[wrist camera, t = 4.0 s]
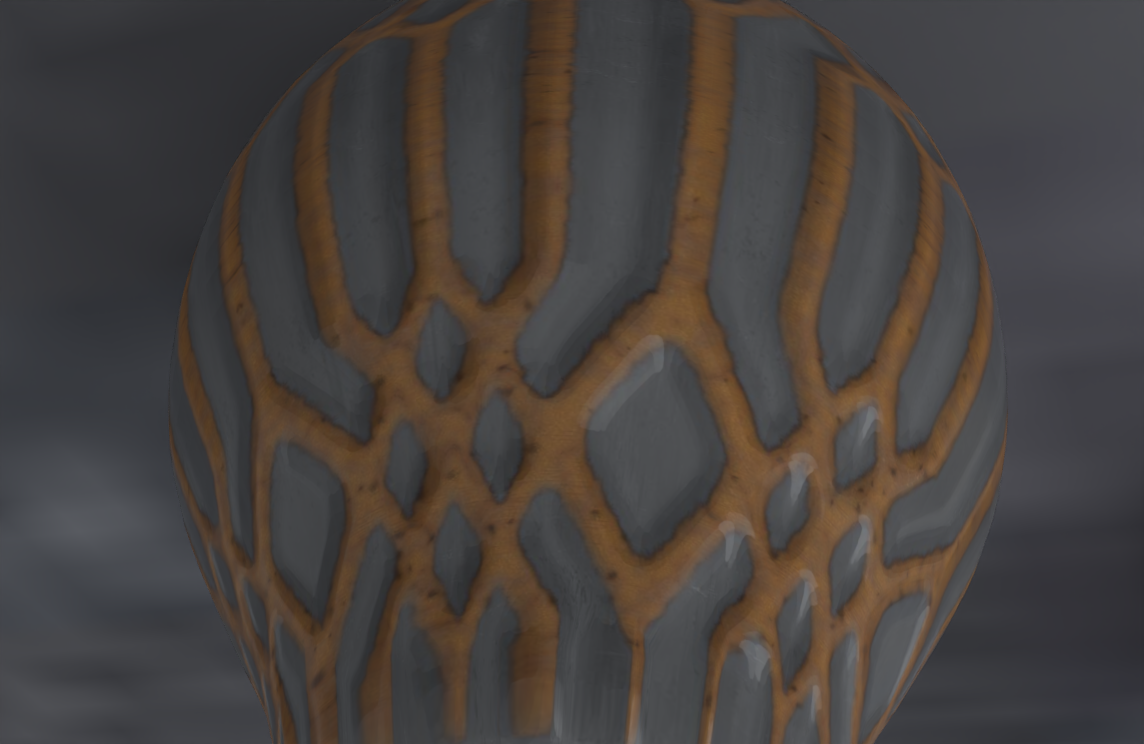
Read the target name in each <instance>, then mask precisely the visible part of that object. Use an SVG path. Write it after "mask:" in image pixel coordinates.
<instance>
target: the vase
mask: <svg viewBox="0 0 1144 744" xmlns="http://www.w3.org/2000/svg"><path fill="white" fill-rule="evenodd" d="M1007 417H1008V407H1007V376H1006V356H1005V349H1004V343H1003V336H1002V329H1001V323H1000V316H999V310H998V303H997V297H996V293H995V289H994V285H993V281H992V277H991V273H990V269H989V266H988V262H987V259H986V255H985V252H984V248H983V245H982V242H981V239H980V236H979V233H978V231H977V228H976V225H975V222H974V219H973V217H972V214H971V212H970V210H969V208H968V206H967V203H966V201H965V199H964V197H963V195H962V193H961V191H960V189H959V186H958V184H957V182H956V180H955V179H954V177H953V175H952V173H951V171H950V169H949V167H948V165H947V163H946V161H945V160H944V158H943V156H942V155H941V153H940V151H939V150H938V148H937V146H936V145H935V143H934V141H933V140H932V138H931V136H930V135H929V134H928V132H927V131H926V130H925V128H924V127H923V125H922V124H921V123H920V121H919V120H918V119H917V117H916V116H915V114H914V113H913V112H912V110H911V109H910V108H909V107H908V106H907V105H906V104H905V102H904V101H903V100H902V99H901V98H900V97H899V96H898V95H897V93H896V92H895V91H894V90H893V89H892V88H891V87H890V85H889V84H888V83H887V82H886V81H885V80H884V79H883V78H882V77H881V76H880V75H879V74H878V73H877V72H876V71H875V70H874V69H873V68H872V67H871V66H870V65H868V64H867V63H866V62H865V61H864V60H863V59H862V58H861V57H860V56H859V55H858V54H857V53H856V52H855V51H854V50H853V49H851V48H850V47H849V46H848V45H846V44H845V43H844V42H842V41H841V40H840V39H839V38H837V37H836V36H835V35H834V34H832V33H831V32H830V31H828V30H827V29H826V28H824V27H823V26H821V25H820V24H818V23H817V22H815V21H814V20H812V19H810V18H809V17H807V16H806V15H804V14H803V13H801V12H800V11H798V10H797V9H795V8H793V7H791V6H790V5H788V4H786V3H784V2H782V1H780V0H402V1H400V2H398V3H396V4H394V5H392V6H391V7H389V8H387V9H386V10H384V11H382V12H381V13H379V14H378V15H376V16H375V17H373V18H371V19H370V20H368V21H367V22H365V23H364V24H362V25H361V26H359V27H358V28H357V29H355V30H354V31H353V32H352V33H350V34H349V35H348V36H346V37H345V38H344V39H343V40H341V41H340V42H339V43H337V44H336V45H335V46H334V47H332V48H331V49H330V50H329V51H328V52H326V53H325V54H324V55H323V56H321V57H320V58H319V59H318V60H317V61H316V62H315V63H314V64H313V65H312V66H311V67H310V68H308V69H307V70H306V71H305V72H304V73H303V74H302V75H301V76H300V77H299V78H298V79H297V80H296V81H295V82H294V83H293V84H292V85H291V86H290V87H289V89H288V90H287V91H286V92H285V93H284V94H283V95H282V96H281V98H280V99H279V100H278V101H277V102H276V103H275V104H274V106H273V107H272V108H271V110H270V111H269V112H268V114H267V115H266V117H265V118H264V119H263V121H262V122H261V123H260V125H259V126H258V127H257V129H256V130H255V132H254V133H253V135H252V136H251V138H250V139H249V141H248V142H247V144H246V145H245V147H244V148H243V150H242V151H241V153H240V155H239V156H238V158H237V160H236V161H235V163H234V165H233V166H232V168H231V170H230V171H229V173H228V175H227V177H226V179H225V181H224V183H223V185H222V187H221V189H220V191H219V193H218V196H217V198H216V200H215V202H214V204H213V206H212V209H211V211H210V213H209V216H208V218H207V221H206V223H205V225H204V228H203V231H202V233H201V236H200V239H199V242H198V244H197V247H196V250H195V253H194V255H193V259H192V263H191V266H190V270H189V273H188V277H187V280H186V284H185V288H184V292H183V296H182V300H181V304H180V307H179V312H178V318H177V325H176V331H175V338H174V344H173V351H172V358H171V364H170V378H169V438H170V453H171V460H172V468H173V475H174V479H175V484H176V489H177V494H178V498H179V503H180V507H181V512H182V516H183V520H184V525H185V528H186V531H187V534H188V537H189V540H190V543H191V546H192V549H193V552H194V555H195V557H196V560H197V563H198V565H199V568H200V570H201V573H202V576H203V578H204V580H205V583H206V585H207V587H208V590H209V592H210V594H211V597H212V599H213V601H214V604H215V606H216V608H217V610H218V613H219V615H220V617H221V620H222V622H223V624H224V626H225V629H226V631H227V633H228V635H229V637H230V640H231V642H232V644H233V646H234V648H235V651H236V653H237V655H238V657H239V659H240V661H241V664H242V666H243V668H244V670H245V672H246V674H247V676H248V678H249V680H250V682H251V684H252V686H253V688H254V690H255V692H256V694H257V696H258V698H259V700H260V702H261V705H262V707H263V709H264V711H265V714H266V716H267V721H268V725H269V730H270V735H271V739H272V744H874V742H875V740H876V739H877V737H878V736H879V734H880V733H881V731H882V730H883V728H884V727H885V725H886V724H887V722H888V721H889V719H890V718H891V716H892V715H893V713H894V712H895V711H896V709H897V708H898V706H899V705H900V703H901V701H902V700H903V698H904V697H905V695H906V693H907V692H908V690H909V689H910V687H911V686H912V684H913V682H914V681H915V679H916V678H917V676H918V674H919V673H920V671H921V670H922V668H923V666H924V665H925V663H926V661H927V660H928V658H929V656H930V655H931V653H932V652H933V650H934V648H935V647H936V645H937V643H938V642H939V640H940V638H941V636H942V635H943V633H944V631H945V629H946V628H947V626H948V624H949V622H950V621H951V619H952V617H953V615H954V613H955V611H956V609H957V608H958V606H959V604H960V602H961V600H962V598H963V597H964V594H965V592H966V590H967V588H968V586H969V584H970V581H971V579H972V577H973V575H974V573H975V570H976V567H977V564H978V561H979V558H980V555H981V553H982V550H983V547H984V544H985V541H986V538H987V535H988V533H989V530H990V527H991V524H992V521H993V517H994V513H995V509H996V505H997V501H998V497H999V490H1000V483H1001V476H1002V470H1003V462H1004V455H1005V448H1006V437H1007Z"/></svg>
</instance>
